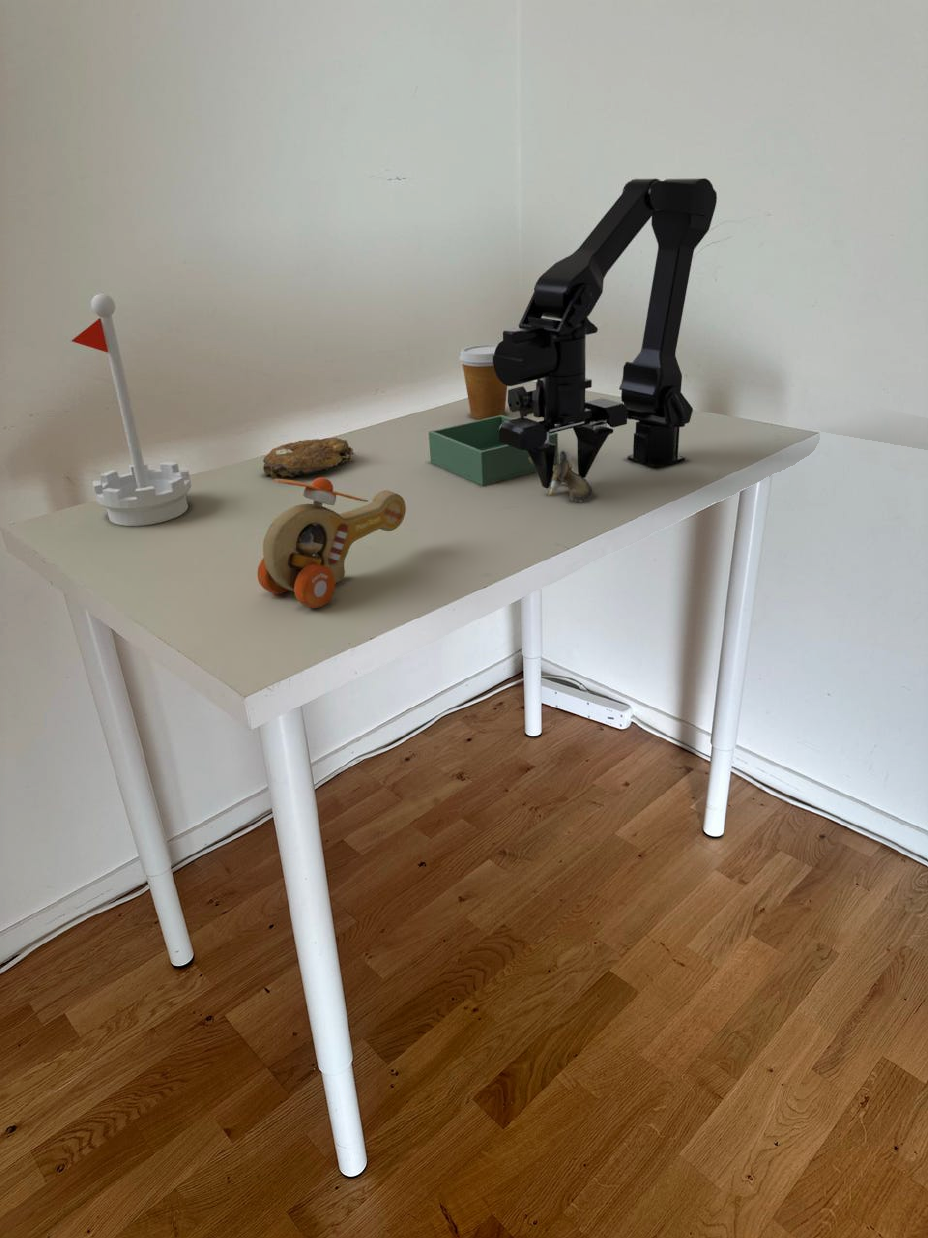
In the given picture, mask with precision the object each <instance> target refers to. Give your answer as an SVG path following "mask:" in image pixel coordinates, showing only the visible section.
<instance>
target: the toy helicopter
mask: <svg viewBox="0 0 928 1238" xmlns="http://www.w3.org/2000/svg"><path fill="white" fill-rule="evenodd" d="M273 481H274V482H276V483H280V484H283V485H291V486H296V487H297V486H298V487H304V489H303V494H302V496H303V497H304V498H306V499H309V500H312V501H313V503H302V504H301V503H300V504H297V505H294V506H292V507H289V508H288V509H286V510H284V511H283V512H281V513H280V514H279V515H278V516H277V517H276V518H274V520H272V522H271V523H270V524H269V526H268V528H267V530H266V533H265V534H264V538H263V543H262V556H263V558H262V559H261V560H260V562H259V564H258V567H257V581H258V583H259V585H260V586H261V588H263V589H264V590H265V591H267V592H270V593H272V594H275V595H280V594H284V593H286V592H288V591H290V592H293V593H294V596H295V598H296V600H297V601H298V602H299V603H300V604H301V605H303V606H306V607H309V608H312V609H317V608H318V609H319V608H322V607H323V606H325V605H326V604H327V603H328V602H330V600H331V599H332V597H333V595H334V594H335V593H334V592H335V590H336V584H337V583H339V582H341V581H342V580H343V579H344V577H345V574H346V571H345V570H346V569H345V560H346V558H347V556H348V554H349V550H350V548H351V546H352V544H354V543H355V542H357V541H358V540H359V539H362V538H364V537H365V536H368V535H370V534H373V533H375V532H376V531H378V530H381V531H384V532H392V531H394V530H397V529H398V528H399V527H400V526H401V524H402V523H403V521H404V520H405V516H406V512H407V509H406V508H407V507H406V506H407V505H406V502H405V499H404V498H403V496H402V495H400V494H399V493H396V492H393V491H391V490H389V489H388V490H387V489H386V490H382V491H379V492H378V493H377V494H376V495H374V497H373V498H372V500H371V501H370V502H369V500H368V499H364V498H360V497H357V496H353V495H349V494H346V493H342V492H338V491H334V485H333V483H332V482H331V480H330V479H328V478H325V477H317V478H315V479H314V480H313V481H312V483H311V484H309V483H306V482H302V481H297V480H293V479H286V478H285V479H284V478H273ZM337 496H340V497H343V498H347V499H351V500H355V501H359V502H364V503H365V502H366V503H367V502H369V503H368V504H366V505H362V506H360V507H359V506H358V507H357V508H354V509H350V510H347V511H345V512H342V513H337V512H336V511H335V510H332V509H330V508H328V507H325V506H323V504H324V505H329V506H334V505H335V504H336V500H337Z"/></svg>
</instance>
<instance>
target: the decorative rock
mask: <svg viewBox="0 0 928 1238" xmlns="http://www.w3.org/2000/svg"><path fill="white" fill-rule="evenodd" d="M355 454H356V453H355V452H354V449H353V447H350V445H349V443H348V440H347V439H341V438H338V437H327V438H326V437H325V438H321V439H319V438H318V439H317V438H314V439H304V440H298V441H294V442H288V443H285V444H281V445H279V446H277V447H275V448H272V449H271V450H270V451H269V453H268V454H267V455H265V456H264V457H263V460H262V462H263V467H262V468H263V471H264V476H265V477H267V476H270V477H271V479H276V478H277V476H278V475H280V476H281V477H282V478H285V477H290V478H295V476H301V475H302V474H304V475H306V476H308V475H309V474H314V473H315V472H317V471H320V470H321V471H327V470H329V468H333V467H337V466H338V465H342V464H345V463H347V462H348V461H350V460H351V458H352V457H353V455H355Z"/></svg>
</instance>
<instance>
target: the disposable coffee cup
mask: <svg viewBox="0 0 928 1238" xmlns="http://www.w3.org/2000/svg"><path fill="white" fill-rule="evenodd" d="M497 345H498V344H478V345H471V346H466V347H464V348H462V349H461V352H460V356H459V359H458V360H459V361H460V364H461V365H462V371H463V376H464V377H463V378H464V383H465V388H466V394H467V399H468V400H467V402H468V406H469V412H470V417H471V418H473V419H476V420H482V419H486V418H490V417H495V416H499V415H503V416H506V404H507V403H506V402H507V394H508V390H507V389H508V386H506V385H505V384H503V383H502V382H501V381H500V380H499V379H498V377H497V375H496V373H495V371H494V367H493V355H494V352H495V349H496V347H497Z"/></svg>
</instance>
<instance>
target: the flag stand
mask: <svg viewBox="0 0 928 1238" xmlns="http://www.w3.org/2000/svg"><path fill="white" fill-rule="evenodd" d="M90 306H91V309H92V312H93V313H95V315H97V316H98V317H99V318H97V319H96V320H95V321H94V322H93V323H91V324H90V325H89V326H88V327H87V328H84V330H83V331H82V332H80V333H79V334H78V335H76V336H75V337H74V338H73V339H72V340H71V342H72V343H75V344H78V345H81V346H85V347H89V348H91V349H95V350H98V351H101V352H103V353H107V355H108V360H109V365H110V370H111V373H112V374H111V375H112V378H113V383H114V387H115V388H114V389H115V391H116V395H117V401H118V405H119V409H120V410H119V411H120V413H121V414H120V415H121V418H122V423H123V427H124V431H125V437H126V440H127V441H126V442H127V445H128V450H129V454H130V458H131V462H132V464H129V465H128V468H129V473H124V474H120V475H119V473H118V470H114V469H111V470H108V471H106V472H103V473H101V474H99V477H100V480H93V481H92V487H93V491H94V495H95V499H96V502H97V504H99V505H101V506H102V507H104V508H106V511H107V515H108V520H109V521H110V522H111V523H112V524H115V525H119V526H126V527H140V526H148V525H150V526H151V525H155V524H160V523H163V522H168V521H171V520H173V519H175V518H178V517H180V516H181V515H183V514H184V513H186V511H187V510H188V508H189V505H188V500H187V493H188V492H189V491H190V490H191V489H192V481H191V477H190V471H189V468H188V467H187V466H182V467H179V465H178V463H177V462H171V461H163V462H161V463H160V464H159V466H160V469H159V468H158V469H149V467H148V463H147V462H145V461H144V457H143V453H142V448H141V444H140V439H139V434H138V430H137V424H136V421H135V416H134V411H133V407H132V403H131V398H130V397H131V396H130V393H129V388H128V384H127V379H126V375H125V371H124V370H125V369H124V365H123V359H122V357H121V351H120V346H119V343H118V338H117V333H116V329H115V324H114V320H113V319H114V318H113V314H114V313H115V311H116V302H115V301H114V298H113V297H111V296H110V295H108V294H106V293H98V294H96V295H95V296H93V297H92V299H91V302H90Z"/></svg>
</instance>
